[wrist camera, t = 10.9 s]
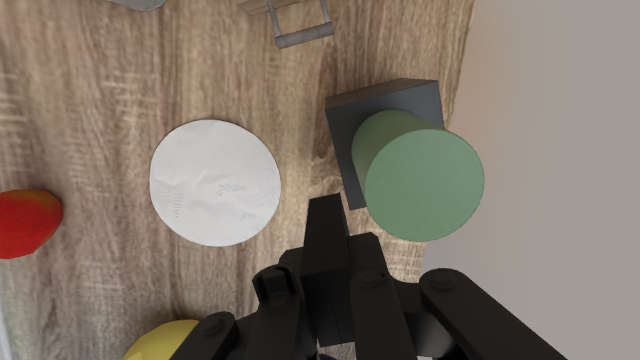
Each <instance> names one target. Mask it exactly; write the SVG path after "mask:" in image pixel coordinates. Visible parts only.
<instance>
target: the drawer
mask: <svg viewBox="0 0 640 360" xmlns="http://www.w3.org/2000/svg"><path fill="white" fill-rule="evenodd" d="M300 1H304V0H235V2H236V4H237V5H238V6H239V7H241V8H242V9H243V10H245V11H246V12H247V13H249V14H250V15H251V16H252V15H255V14H259V13H262V12H266V11H269V12H270V16H271V20H272V23H273V27H274V31H275V34H276V37H275V42H276V45H277V48H278V49H283V48H286V47H290V46H293V45H297V44H301V43H304V42H308V41H311V40H315V39H319V38H322V37H326V36H329V35H333V34H334V28H333V24H332V22H330V18H329V14H328V10H327V5H326V1H325V0H320V3H321V7H322V12H323V16H324V20H325V24H321V25H318V26H314V27H310V28H307V29H303V30H300V31H296V32H293V33H289V34H286V35H282V36H281V32H280V28H279V25H278V21H277V17H276V13H275V10H274V9H276V8H280V7H283V6H286V5H290V4H293V3H297V2H300Z"/></svg>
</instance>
